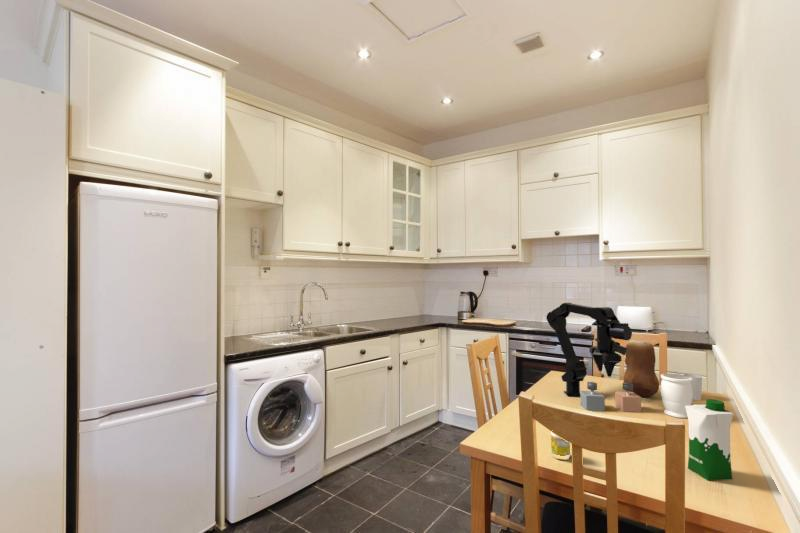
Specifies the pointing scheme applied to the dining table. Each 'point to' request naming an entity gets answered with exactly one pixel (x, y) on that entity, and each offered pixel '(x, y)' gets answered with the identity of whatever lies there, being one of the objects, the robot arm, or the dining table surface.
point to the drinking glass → (696, 386)
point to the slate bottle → (592, 401)
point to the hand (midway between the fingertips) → (604, 373)
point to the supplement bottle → (559, 446)
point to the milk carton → (709, 440)
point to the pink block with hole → (628, 402)
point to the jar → (676, 394)
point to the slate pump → (592, 386)
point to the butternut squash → (641, 368)
